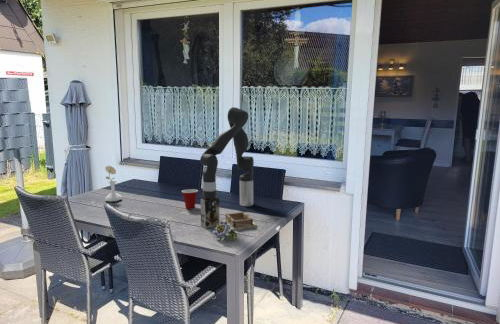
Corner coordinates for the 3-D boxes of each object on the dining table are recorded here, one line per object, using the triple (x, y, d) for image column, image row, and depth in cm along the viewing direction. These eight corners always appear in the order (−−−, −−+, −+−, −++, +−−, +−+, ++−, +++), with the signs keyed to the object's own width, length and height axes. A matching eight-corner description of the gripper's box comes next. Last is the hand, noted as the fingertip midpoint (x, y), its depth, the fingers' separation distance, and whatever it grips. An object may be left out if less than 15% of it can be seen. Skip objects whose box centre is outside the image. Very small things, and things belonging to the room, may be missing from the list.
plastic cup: (198, 204, 251) (197, 187, 248) (198, 209, 240) (198, 191, 238) (182, 205, 249) (181, 188, 247) (181, 210, 238) (181, 192, 236)
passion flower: (219, 250, 190) (207, 231, 191) (232, 240, 198) (219, 221, 199) (232, 243, 183) (219, 223, 183) (245, 233, 191) (232, 214, 192)
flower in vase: (125, 200, 263) (123, 165, 258) (111, 203, 254) (108, 168, 249) (114, 197, 270) (112, 163, 266) (100, 200, 261) (97, 166, 257)
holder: (221, 221, 218) (221, 214, 217) (246, 218, 223) (246, 211, 223) (230, 230, 203) (230, 222, 202) (257, 226, 209) (257, 219, 208)
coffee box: (206, 228, 206) (205, 201, 203) (200, 225, 211) (199, 198, 208) (220, 225, 211) (219, 198, 208) (214, 222, 216) (213, 195, 213)
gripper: (199, 186, 212) (200, 214, 215) (206, 192, 199) (207, 221, 202) (212, 185, 215) (213, 212, 218) (219, 191, 202) (220, 220, 205)
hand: (210, 216), depth 210 cm, fingers closed on coffee box, 7 cm apart
